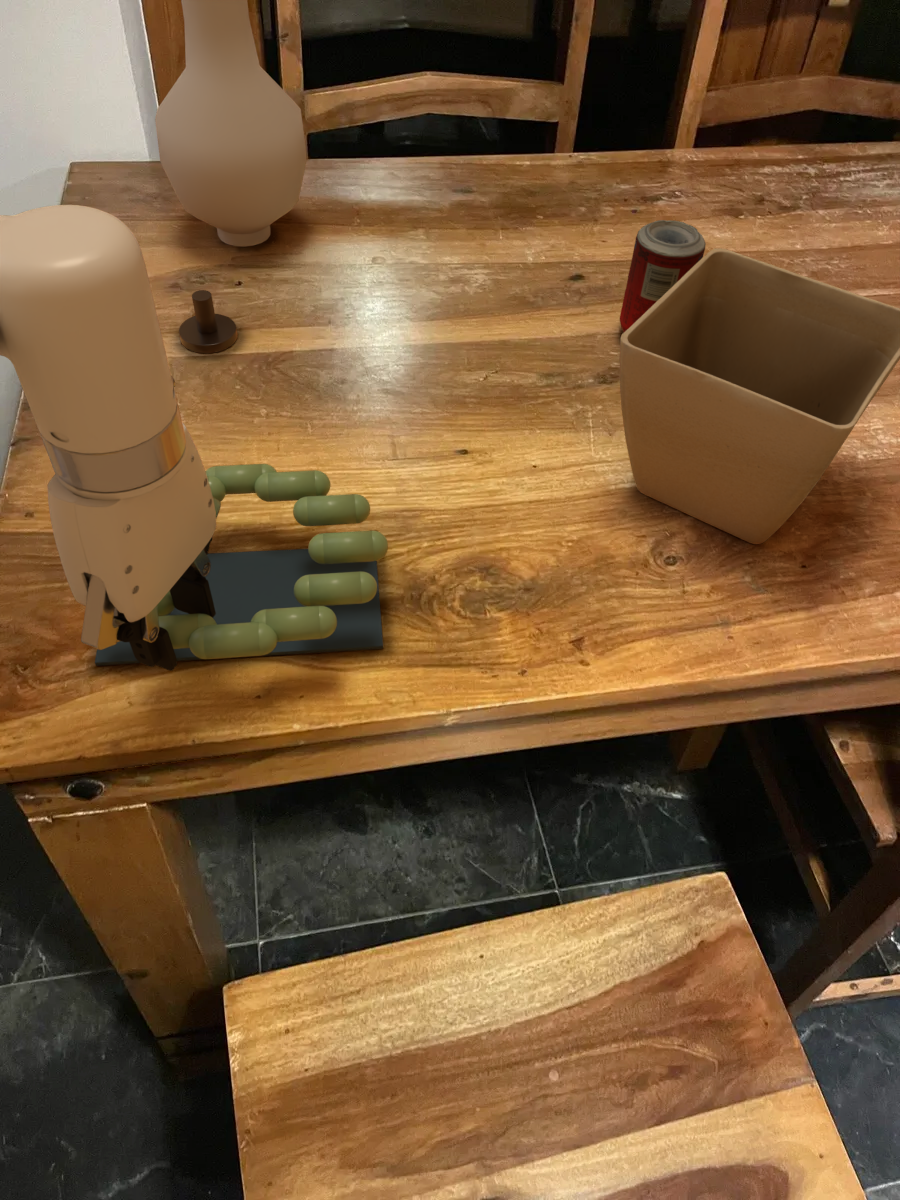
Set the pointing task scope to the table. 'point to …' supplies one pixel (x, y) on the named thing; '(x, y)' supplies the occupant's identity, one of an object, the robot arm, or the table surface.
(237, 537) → the table surface
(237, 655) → the ring
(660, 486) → the flower pot
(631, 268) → the soda can
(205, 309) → the ring stand
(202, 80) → the vase
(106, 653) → the mat
